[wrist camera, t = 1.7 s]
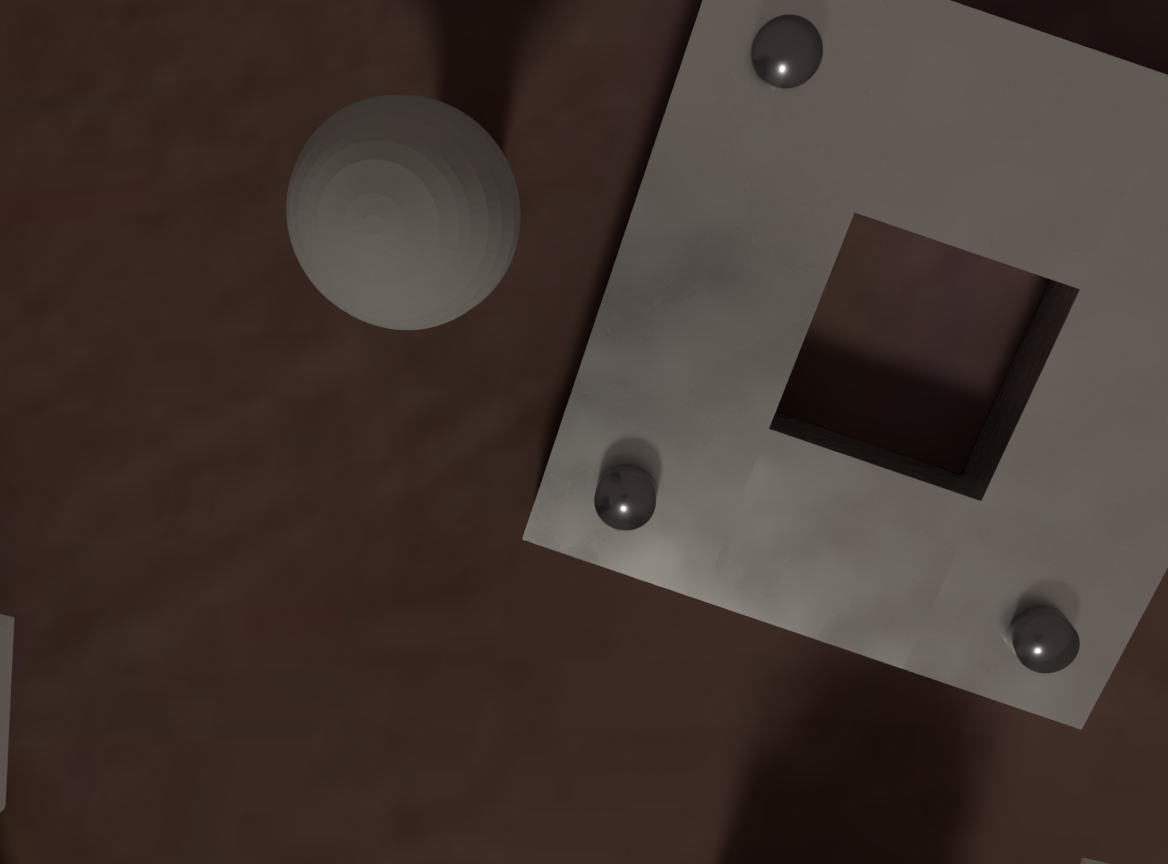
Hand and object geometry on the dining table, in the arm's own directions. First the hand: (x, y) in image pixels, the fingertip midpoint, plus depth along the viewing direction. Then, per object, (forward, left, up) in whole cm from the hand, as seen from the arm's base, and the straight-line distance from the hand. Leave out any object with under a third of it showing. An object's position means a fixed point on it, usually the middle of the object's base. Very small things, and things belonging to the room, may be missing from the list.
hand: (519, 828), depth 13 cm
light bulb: (-7, +4, -22) cm, 23 cm away
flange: (+7, +4, -22) cm, 24 cm away
